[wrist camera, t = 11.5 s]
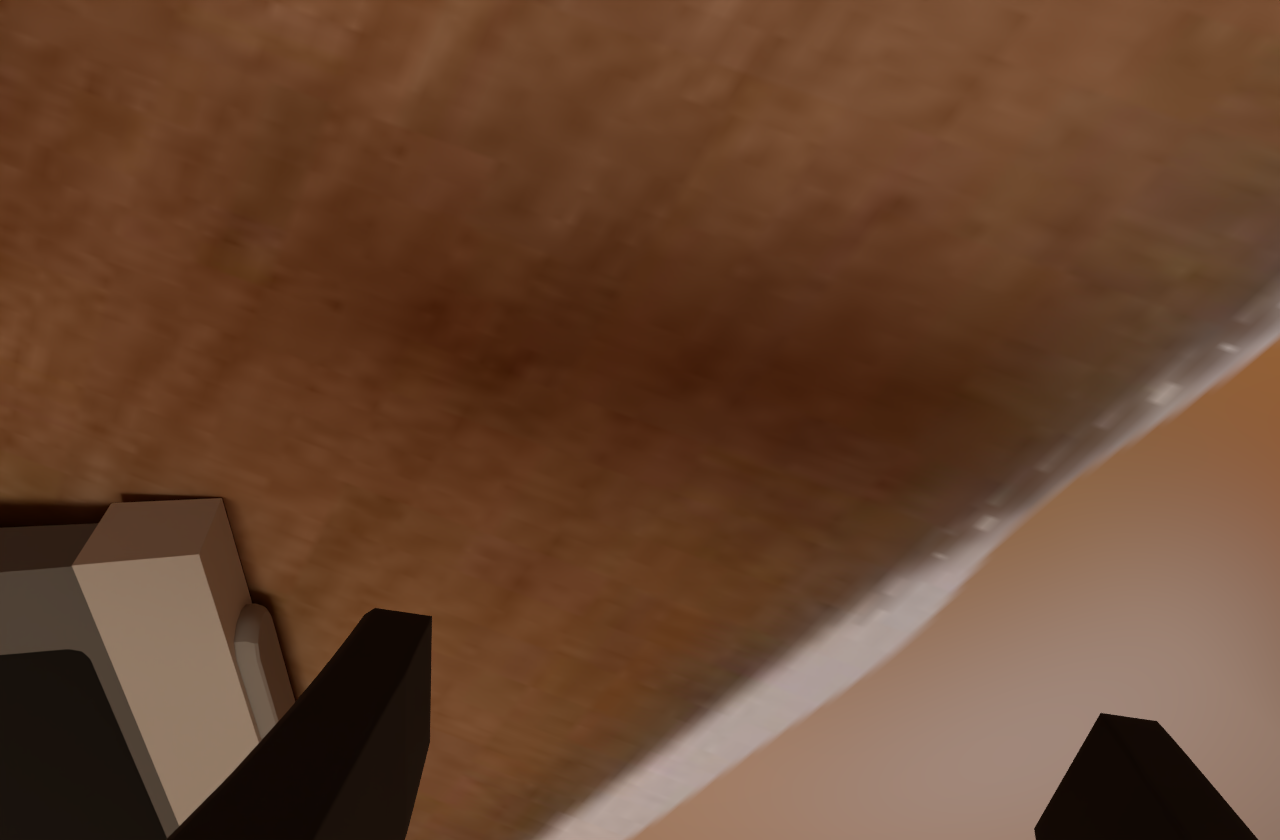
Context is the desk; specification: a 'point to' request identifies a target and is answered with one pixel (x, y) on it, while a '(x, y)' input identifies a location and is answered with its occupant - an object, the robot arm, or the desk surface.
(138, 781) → the alarm clock
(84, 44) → the desk surface
